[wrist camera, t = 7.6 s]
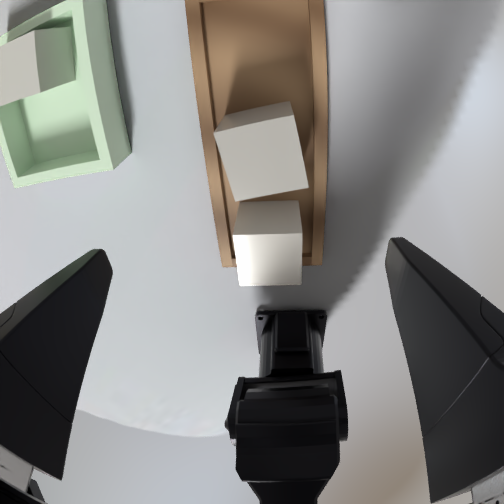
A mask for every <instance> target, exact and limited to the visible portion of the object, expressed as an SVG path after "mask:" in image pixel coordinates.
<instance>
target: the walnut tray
mask: <svg viewBox="0 0 504 504" xmlns="http://www.w3.org/2000/svg"><path fill="white" fill-rule="evenodd" d="M185 7H186V16H187V25H188V34H189V43H190V51H191V60H192V68H193V76H194V84H195V91H196V99H197V106H198V114H199V121H200V128H201V135H202V142H203V149H204V156H205V163H206V169H207V176H208V182H209V189H210V195H211V202H212V208H213V214H214V220H215V226H216V232H217V238H218V244H219V250H220V256H221V262H222V267H237V263H236V255H235V248H234V241H233V232H234V227H235V222H236V217H237V212H238V207H239V202H256V201H289V200H298V201H299V209H300V217H301V225H302V266H308V265H322V257H323V243H324V226H325V207H326V183H327V139H328V100H327V58H326V35H325V18H324V3H323V0H185ZM286 101H290V103H291V107H292V111H293V114H294V119H295V123H296V128H297V132H298V137H299V141H300V146H301V151H302V156H303V161H304V166H305V171H306V176H307V181H308V186H309V188H304V189H299V190H293V191H288V192H282V193H277V194H272V195H266V196H261V197H256V198H251V199H246V200H241V201H236V202H235V199H234V196H233V193H232V190H231V187H230V183H229V180H228V177H227V174H226V171H225V168H224V165H223V162H222V158H221V155H220V152H219V149H218V146H217V143H216V140H215V137H214V131H215V130H216V128H217V127H218V125H219V123H220V122H221V120H222V119H223V117H224V116H225V115H228V114H232V113H236V112H240V111H244V110H248V109H253V108H257V107H262V106H267V105H271V104H276V103H281V102H286Z"/></svg>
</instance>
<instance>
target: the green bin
mask: <svg viewBox="0 0 504 504" xmlns="http://www.w3.org/2000/svg"><path fill="white" fill-rule="evenodd" d="M61 27H71V32H72V47H73V58H74V68H75V77H76V80H75V81H71V82H69V83H66V84H63V85H60V86H57V87H54V88H52V89H49V90H46V91H44V92H41V93H38V94H35V95H32V96H28V97H25V98H22V99H19V100H17V101H14V102H11V103H8V104H5V105H3V106H0V146H1V149H2V153H3V156H4V159H5V162H6V165H7V168H8V171H9V174H10V177H11V180H12V182H13V185H14V188H19V187H24V186H28V185H33V184H37V183H42V182H47V181H52V180H57V179H62V178H67V177H73V176H79V175H84V174H90V173H96V172H102V171H109V170H114V169H115V168H116V167H117V166H118V165H119V164H120V163H121V162H122V161H123V160H124V159H126V158H127V157H128V156H129V155H130V154H131V153H132V151H131V147H130V143H129V138H128V133H127V129H126V124H125V119H124V114H123V109H122V104H121V99H120V93H119V88H118V82H117V76H116V70H115V64H114V58H113V51H112V44H111V37H110V29H109V21H108V12H107V2H106V0H66V1H64V2H61V3H59V4H57V5H55V6H53V7H51V8H49V9H47V10H45V11H43V12H41V13H40V14H38V15H36V16H34V17H32V18H30V19H29V20H27V21H25V22H23V23H22V24H20V25H18V26H17V27H15V28H13V29H12V30H10V31H8V32H7V33H5V34H4V35H2V36H1V37H0V46H2V45H4V44H6V43H8V42H10V41H12V40H14V39H16V38H18V37H21V36H23V35H25V34H27V33H29V32H32V31H34V30H41V29H50V28H61Z"/></svg>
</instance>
